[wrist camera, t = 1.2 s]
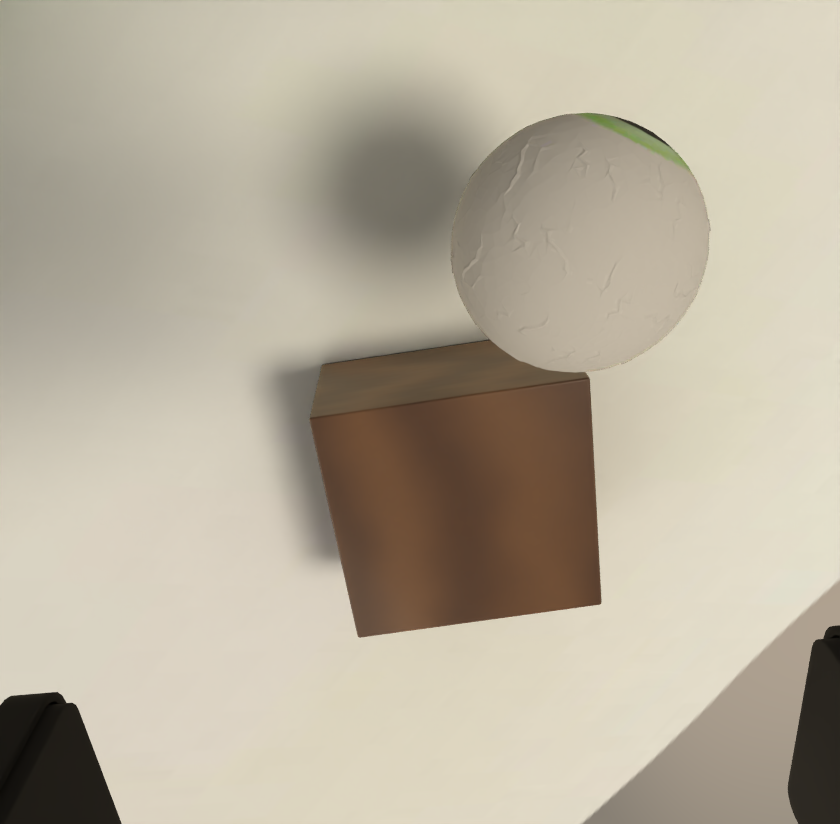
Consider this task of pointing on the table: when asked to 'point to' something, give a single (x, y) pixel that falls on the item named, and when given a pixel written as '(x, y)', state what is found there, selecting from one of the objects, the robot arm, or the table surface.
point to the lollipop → (580, 242)
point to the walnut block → (458, 486)
